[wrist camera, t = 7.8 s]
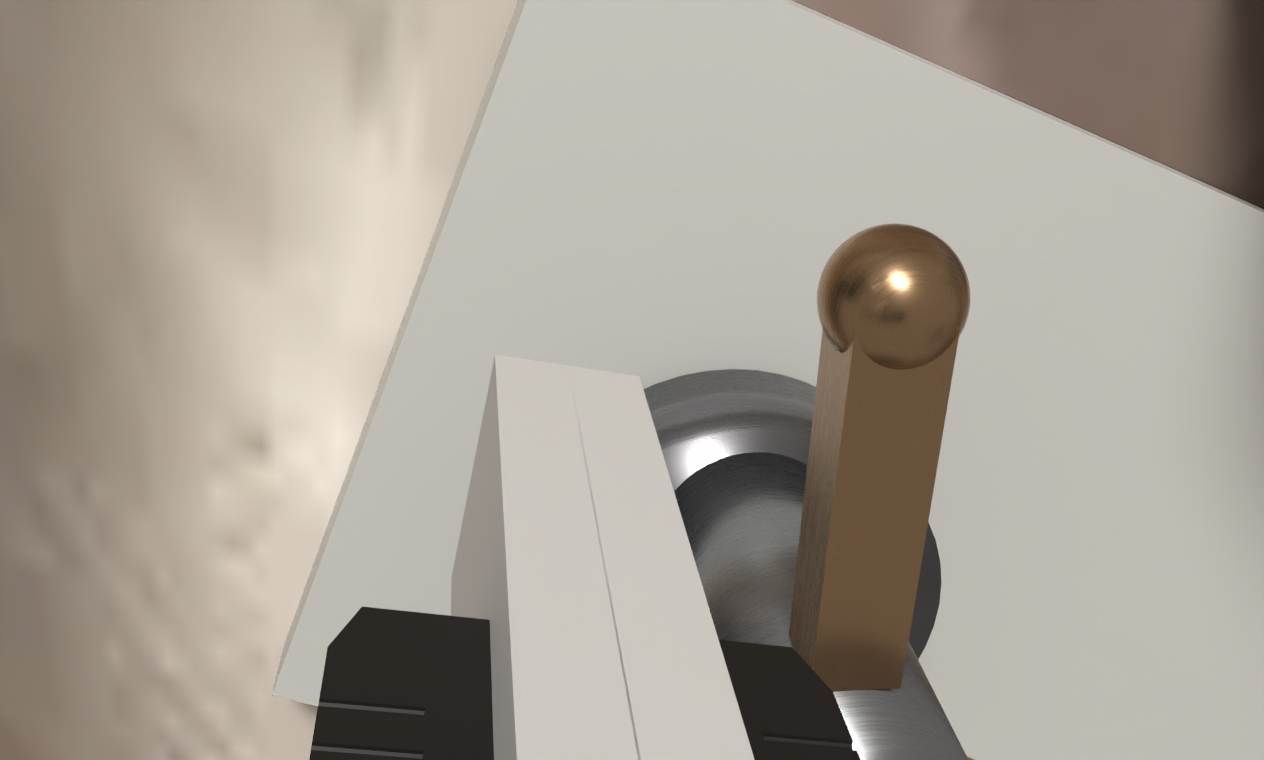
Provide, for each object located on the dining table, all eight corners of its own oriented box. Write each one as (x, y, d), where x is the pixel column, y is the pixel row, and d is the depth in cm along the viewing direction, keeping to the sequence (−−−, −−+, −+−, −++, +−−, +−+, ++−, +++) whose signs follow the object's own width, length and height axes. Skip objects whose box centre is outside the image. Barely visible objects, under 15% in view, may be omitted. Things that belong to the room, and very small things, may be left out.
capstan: (356, 72, 23) (243, 285, 13) (1123, 83, 25) (1584, 278, 14) (396, 707, 30) (345, 1189, 19) (999, 680, 32) (1250, 1109, 21)
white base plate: (284, 645, 32) (195, 999, 22) (557, -104, 24) (597, -53, 15) (1134, 860, 39) (1341, 1197, 29) (1538, 330, 31) (1986, 550, 22)
